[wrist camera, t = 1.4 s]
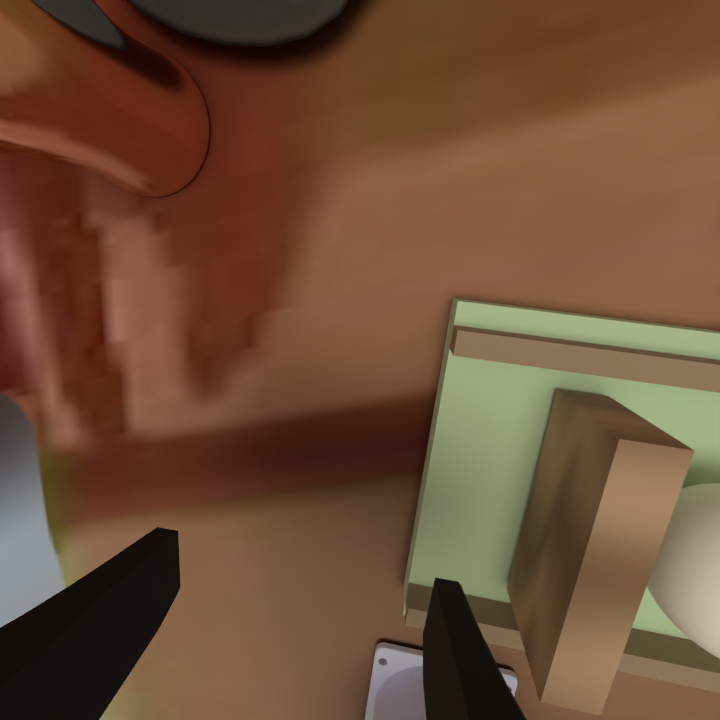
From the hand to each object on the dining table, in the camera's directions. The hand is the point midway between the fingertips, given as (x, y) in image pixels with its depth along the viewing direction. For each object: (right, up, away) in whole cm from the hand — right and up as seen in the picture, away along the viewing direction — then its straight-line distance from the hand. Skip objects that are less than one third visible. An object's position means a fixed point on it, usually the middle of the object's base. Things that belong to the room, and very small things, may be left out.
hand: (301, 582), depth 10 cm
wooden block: (+10, 0, +6) cm, 12 cm away
